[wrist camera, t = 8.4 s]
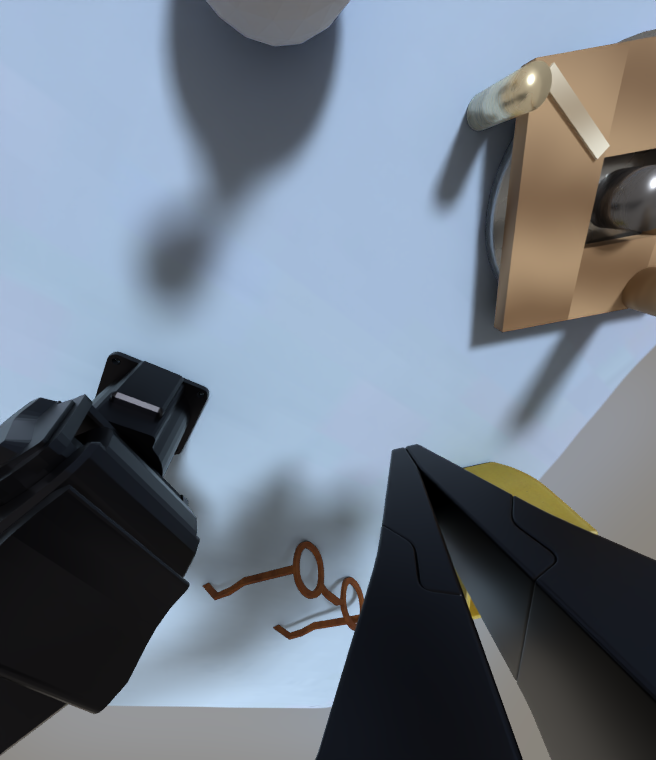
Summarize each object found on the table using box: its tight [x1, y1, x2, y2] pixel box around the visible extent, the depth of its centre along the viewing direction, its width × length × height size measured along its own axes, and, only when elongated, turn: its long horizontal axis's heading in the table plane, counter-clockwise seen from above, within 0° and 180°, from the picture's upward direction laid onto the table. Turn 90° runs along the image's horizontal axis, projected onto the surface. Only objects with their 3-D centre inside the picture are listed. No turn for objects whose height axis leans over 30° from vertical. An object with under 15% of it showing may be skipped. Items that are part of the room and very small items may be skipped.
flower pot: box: [455, 462, 598, 619], centre depth 27 cm, size 9×9×9 cm
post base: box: [467, 29, 656, 282], centre depth 17 cm, size 14×17×4 cm
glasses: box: [203, 541, 364, 639], centre depth 34 cm, size 13×13×5 cm
